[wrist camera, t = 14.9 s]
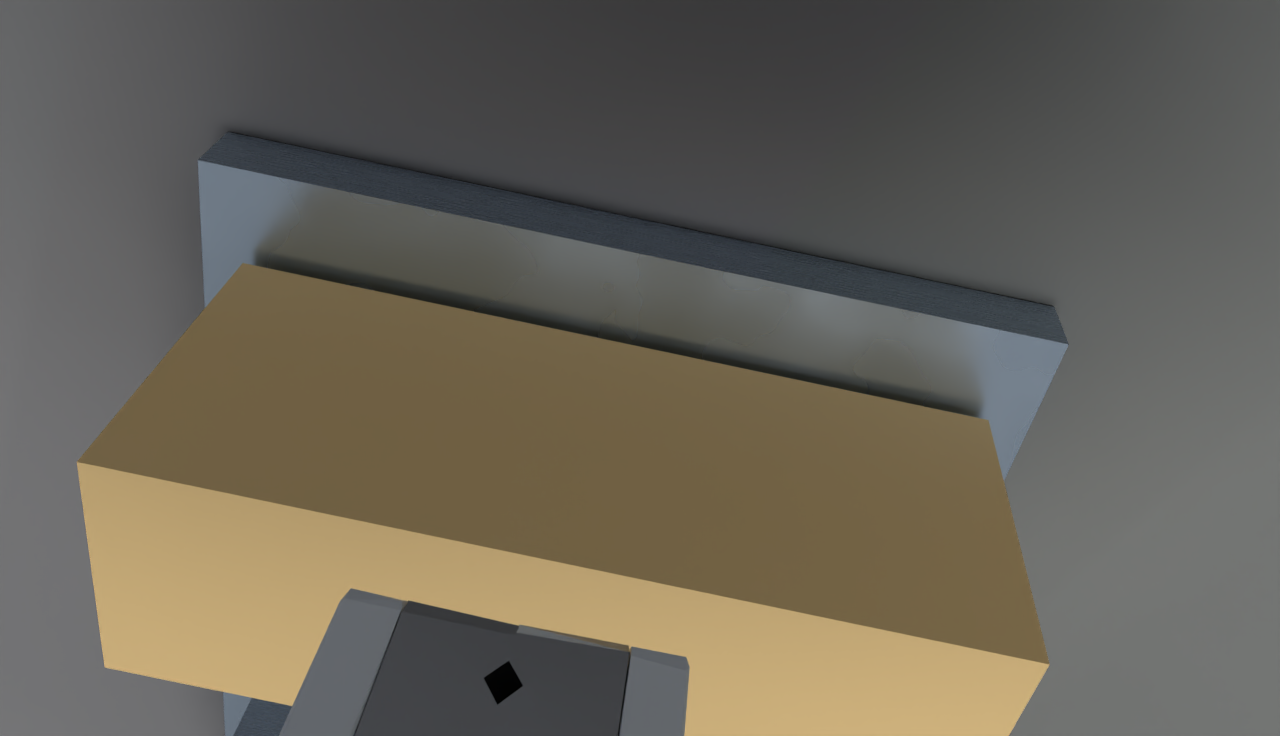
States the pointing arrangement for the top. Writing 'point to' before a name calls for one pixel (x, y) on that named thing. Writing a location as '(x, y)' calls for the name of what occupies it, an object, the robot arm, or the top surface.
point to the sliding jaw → (555, 513)
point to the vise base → (619, 290)
